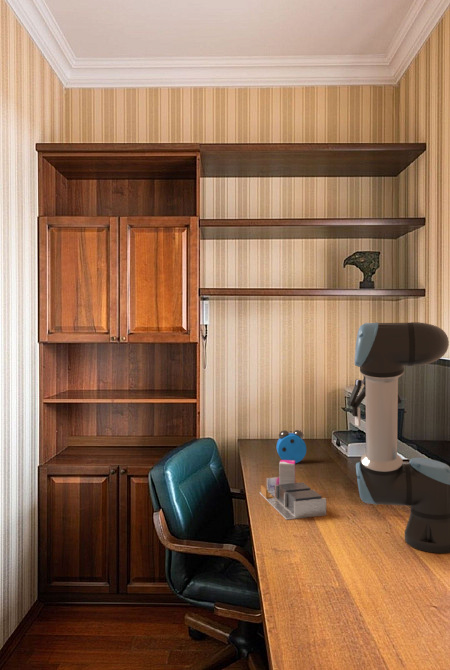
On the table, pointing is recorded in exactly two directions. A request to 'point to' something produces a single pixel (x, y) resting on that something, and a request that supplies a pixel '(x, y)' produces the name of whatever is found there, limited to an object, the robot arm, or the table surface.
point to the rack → (293, 499)
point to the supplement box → (286, 471)
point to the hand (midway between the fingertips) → (374, 424)
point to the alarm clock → (291, 446)
